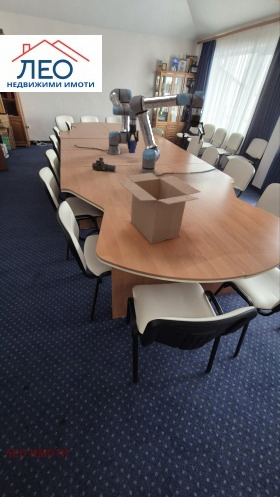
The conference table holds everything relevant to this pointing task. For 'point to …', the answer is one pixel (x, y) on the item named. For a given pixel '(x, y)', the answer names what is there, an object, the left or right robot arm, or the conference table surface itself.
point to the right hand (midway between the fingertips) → (190, 142)
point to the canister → (132, 146)
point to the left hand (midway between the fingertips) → (131, 148)
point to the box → (158, 204)
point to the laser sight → (103, 166)
